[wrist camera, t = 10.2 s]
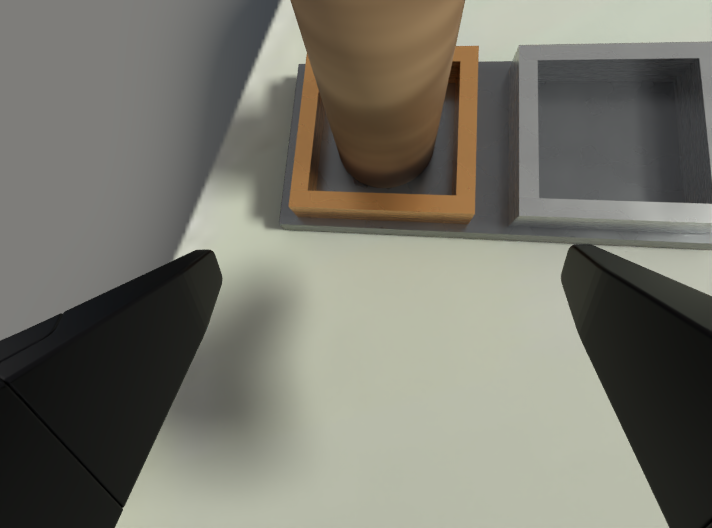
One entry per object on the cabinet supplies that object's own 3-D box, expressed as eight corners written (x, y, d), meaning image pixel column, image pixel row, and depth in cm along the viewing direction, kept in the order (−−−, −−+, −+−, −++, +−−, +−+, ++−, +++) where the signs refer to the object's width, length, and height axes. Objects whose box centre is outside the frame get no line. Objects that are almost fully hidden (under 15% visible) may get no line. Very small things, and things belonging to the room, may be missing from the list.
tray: (694, 73, 18) (740, 33, 16) (711, 249, 16) (766, 235, 14) (303, 76, 21) (290, 42, 18) (285, 229, 19) (268, 214, 17)
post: (414, 201, 17) (464, -156, 5) (323, 170, 18) (158, -207, 6) (448, 115, 18) (574, -403, 5) (359, 88, 19) (285, -415, 6)
